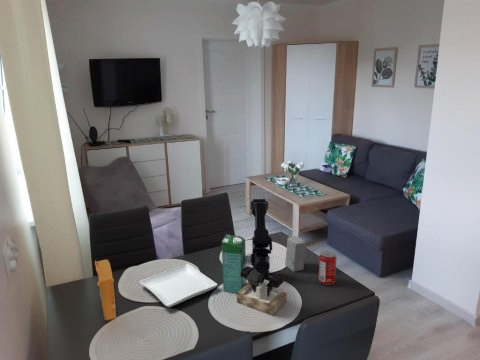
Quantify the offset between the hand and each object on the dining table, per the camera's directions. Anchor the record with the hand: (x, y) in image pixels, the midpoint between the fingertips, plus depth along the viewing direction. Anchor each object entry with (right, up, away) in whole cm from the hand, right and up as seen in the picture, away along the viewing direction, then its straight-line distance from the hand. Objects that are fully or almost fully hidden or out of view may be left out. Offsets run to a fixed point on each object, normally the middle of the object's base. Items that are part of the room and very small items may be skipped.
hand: (261, 293), depth 165 cm
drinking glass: (-12, +6, +40) cm, 42 cm away
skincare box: (+19, +4, +30) cm, 36 cm away
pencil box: (0, -4, +1) cm, 4 cm away
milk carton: (-12, -1, +13) cm, 18 cm away
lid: (0, -1, 0) cm, 2 cm away
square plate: (-38, -2, +13) cm, 41 cm away
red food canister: (+32, +1, +16) cm, 36 cm away
